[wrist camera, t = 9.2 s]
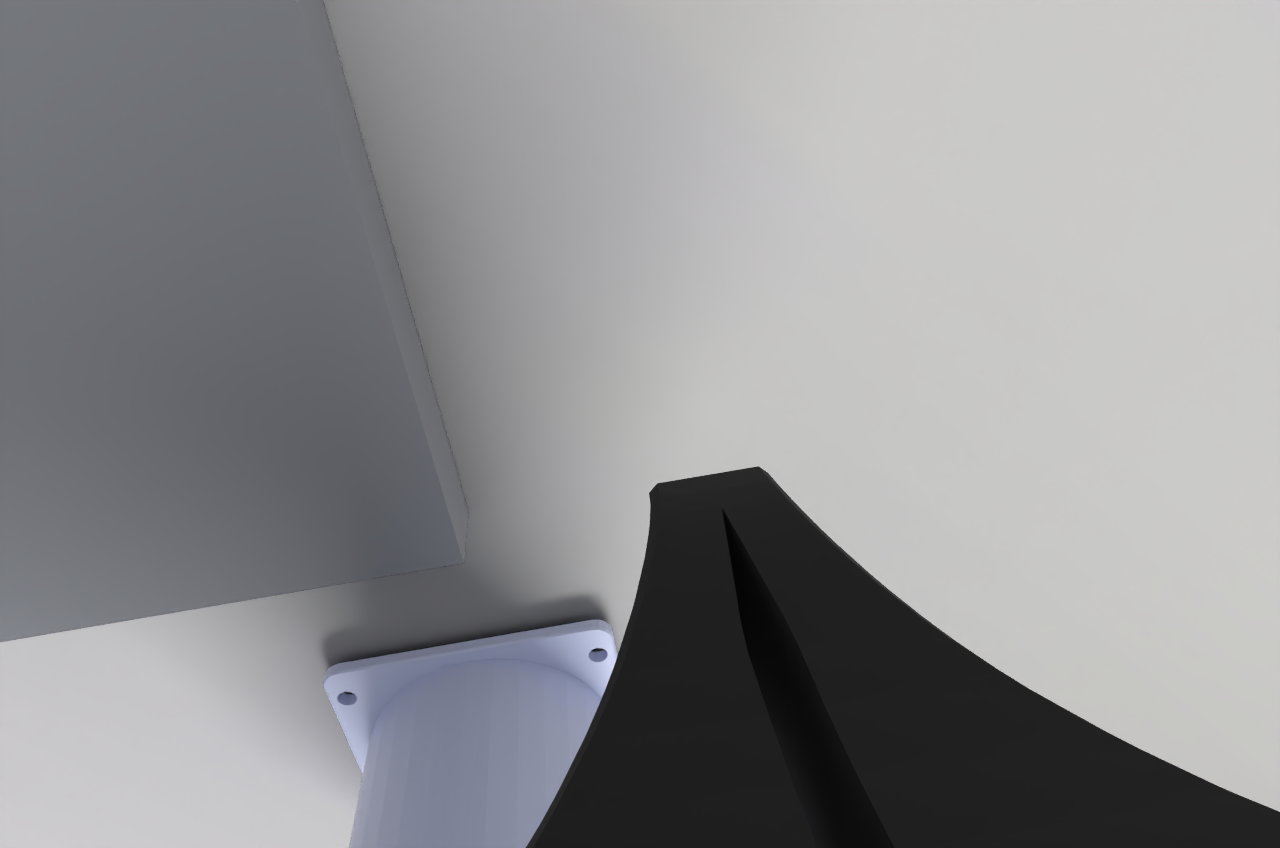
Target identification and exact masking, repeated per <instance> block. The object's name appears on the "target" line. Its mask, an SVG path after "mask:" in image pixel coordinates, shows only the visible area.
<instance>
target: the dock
mask: <svg viewBox="0 0 1280 848" xmlns="http://www.w3.org/2000/svg"><path fill="white" fill-rule="evenodd" d="M468 518H469V512H468V508H467V505H466V501H465V498H464V494H463V491H462V487H461V484H460V480H459V476H458V473H457V469H456V466H455V462H454V459H453V455H452V452H451V448H450V445H449V441H448V438H447V434H446V431H445V427H444V424H443V420H442V417H441V413H440V410H439V406H438V403H437V399H436V396H435V392H434V389H433V385H432V382H431V378H430V375H429V371H428V368H427V364H426V361H425V357H424V354H423V350H422V347H421V343H420V340H419V336H418V333H417V329H416V325H415V322H414V318H413V315H412V311H411V308H410V304H409V301H408V297H407V294H406V290H405V287H404V283H403V280H402V276H401V273H400V269H399V266H398V262H397V259H396V255H395V252H394V248H393V245H392V241H391V238H390V234H389V231H388V227H387V224H386V220H385V217H384V213H383V210H382V206H381V203H380V199H379V196H378V192H377V189H376V185H375V182H374V178H373V174H372V171H371V167H370V164H369V160H368V157H367V153H366V150H365V146H364V143H363V139H362V136H361V132H360V129H359V125H358V122H357V118H356V115H355V111H354V108H353V104H352V101H351V97H350V94H349V90H348V87H347V83H346V80H345V76H344V73H343V69H342V66H341V62H340V59H339V55H338V52H337V48H336V45H335V41H334V38H333V34H332V31H331V27H330V23H329V20H328V16H327V13H326V9H325V6H324V2H323V0H0V642H4V641H10V640H16V639H22V638H28V637H34V636H40V635H45V634H51V633H57V632H63V631H69V630H75V629H81V628H86V627H92V626H98V625H104V624H110V623H116V622H122V621H128V620H133V619H139V618H145V617H151V616H157V615H163V614H169V613H174V612H180V611H186V610H192V609H198V608H204V607H210V606H216V605H221V604H227V603H233V602H239V601H245V600H251V599H257V598H262V597H268V596H274V595H280V594H286V593H292V592H298V591H304V590H309V589H315V588H321V587H327V586H333V585H339V584H345V583H350V582H356V581H362V580H368V579H374V578H380V577H386V576H392V575H397V574H403V573H409V572H415V571H421V570H427V569H433V568H438V567H444V566H450V565H456V564H462V563H464V557H465V547H466V538H467V528H468Z"/></svg>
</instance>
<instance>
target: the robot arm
mask: <svg viewBox="0 0 1280 848" xmlns="http://www.w3.org/2000/svg"><path fill="white" fill-rule="evenodd" d="M649 495H650V504H651V510H650V527H649V536H648V542H647V548H646V554H645V560H644V564H643V568H642V573H641V577H640V581H639V585H638V590H637V594H636V598H635V602H634V606H633V609H632V613H631V616H630V619H629V622H628V625H627V628H626V631H625V635H624V638H623V641H622V644H621V647H620V650H619V653H618V656H617V651H616V646H615V641H614V636H613V631H612V628H611V626H610V625H609V624H608V623H606V622H605V621H602V620H588V621H582V622H576V623H570V624H564V625H559V626H553V627H547V628H541V629H535V630H530V631H524V632H518V633H512V634H506V635H501V636H495V637H489V638H483V639H477V640H472V641H466V642H460V643H454V644H448V645H443V646H437V647H431V648H425V649H419V650H414V651H408V652H402V653H396V654H390V655H385V656H379V657H373V658H367V659H361V660H356V661H350V662H344V663H338V664H335V665H332V666H331V667H330V668H329V669H327V671H326V674H325V677H324V681H323V686H324V689H325V691H326V694H327V696H328V698H329V701H330V703H331V705H332V707H333V710H334V712H335V714H336V716H337V719H338V721H339V723H340V725H341V728H342V730H343V732H344V734H345V737H346V739H347V741H348V743H349V746H350V748H351V750H352V752H353V755H354V757H355V759H356V762H357V764H358V766H359V768H360V771H361V773H362V775H363V777H362V782H361V787H360V792H359V797H358V803H357V808H356V813H355V818H354V823H353V829H352V834H351V839H350V844H349V848H1280V812H1279V811H1276V810H1274V809H1271V808H1269V807H1266V806H1264V805H1261V804H1259V803H1257V802H1254V801H1252V800H1249V799H1247V798H1244V797H1242V796H1239V795H1237V794H1235V793H1232V792H1230V791H1228V790H1226V789H1223V788H1221V787H1219V786H1217V785H1214V784H1212V783H1210V782H1208V781H1206V780H1204V779H1202V778H1200V777H1197V776H1195V775H1193V774H1191V773H1189V772H1187V771H1185V770H1183V769H1181V768H1178V767H1176V766H1174V765H1172V764H1170V763H1168V762H1166V761H1164V760H1162V759H1159V758H1157V757H1155V756H1153V755H1151V754H1149V753H1147V752H1145V751H1143V750H1141V749H1139V748H1137V747H1135V746H1133V745H1131V744H1129V743H1127V742H1125V741H1123V740H1121V739H1119V738H1117V737H1115V736H1113V735H1111V734H1109V733H1107V732H1106V731H1104V730H1102V729H1100V728H1098V727H1097V726H1095V725H1093V724H1091V723H1089V722H1088V721H1086V720H1084V719H1082V718H1080V717H1079V716H1077V715H1075V714H1073V713H1071V712H1070V711H1068V710H1066V709H1064V708H1062V707H1061V706H1059V705H1057V704H1055V703H1053V702H1052V701H1050V700H1048V699H1046V698H1044V697H1043V696H1041V695H1039V694H1037V693H1035V692H1034V691H1032V690H1030V689H1028V688H1027V687H1025V686H1023V685H1022V684H1020V683H1019V682H1017V681H1015V680H1014V679H1012V678H1011V677H1009V676H1007V675H1006V674H1004V673H1003V672H1001V671H999V670H998V669H996V668H995V667H993V666H992V665H990V664H989V663H987V662H986V661H984V660H983V659H981V658H980V657H978V656H977V655H975V654H974V653H972V652H971V651H969V650H968V649H966V648H965V647H964V646H962V645H961V644H959V643H958V642H956V641H955V640H954V639H952V638H951V637H949V636H948V635H947V634H945V633H944V632H942V631H941V630H940V629H938V628H937V627H936V626H934V625H933V624H932V623H930V622H929V621H928V620H926V619H925V618H924V617H922V616H921V615H920V614H918V613H917V612H916V611H915V610H913V609H912V608H911V607H910V606H908V605H907V604H906V603H905V602H903V601H902V600H901V599H900V598H898V597H897V596H896V595H895V594H893V593H892V592H891V591H890V590H888V589H887V588H886V587H885V586H884V585H882V584H881V583H880V582H879V581H878V580H876V579H875V578H874V577H873V576H872V575H871V574H869V573H868V572H867V571H866V570H865V569H864V568H863V567H862V566H860V565H859V564H858V563H857V562H856V561H855V560H854V559H853V558H852V557H850V556H849V555H848V554H847V553H846V552H845V551H844V550H843V549H842V548H841V547H839V546H838V545H837V544H836V543H835V542H834V541H833V540H832V539H831V538H830V537H829V536H828V535H827V534H826V533H824V532H823V531H822V530H821V529H820V528H819V527H818V526H817V525H816V524H815V523H814V522H813V521H812V520H811V519H810V518H809V517H808V516H807V515H806V514H805V513H804V512H803V511H802V510H801V509H800V508H799V507H798V505H797V504H796V503H795V502H794V501H793V500H792V499H791V498H790V497H789V496H788V495H787V494H786V493H785V492H784V491H783V489H782V488H781V487H780V486H779V485H778V484H777V483H776V482H775V481H774V479H773V478H772V477H771V476H770V475H769V474H768V473H767V472H766V471H764V470H763V469H762V468H760V467H753V468H747V469H741V470H735V471H729V472H723V473H717V474H711V475H705V476H699V477H693V478H687V479H681V480H675V481H669V482H663V483H658V484H657V485H656V486H655V487H654V488H653V489H652V490H651V492H650V493H649ZM596 648H602V649H604V650H602V651H600V652H593V651H591V650H593V649H596ZM343 692H351V693H353V694H345V693H343Z"/></svg>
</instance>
